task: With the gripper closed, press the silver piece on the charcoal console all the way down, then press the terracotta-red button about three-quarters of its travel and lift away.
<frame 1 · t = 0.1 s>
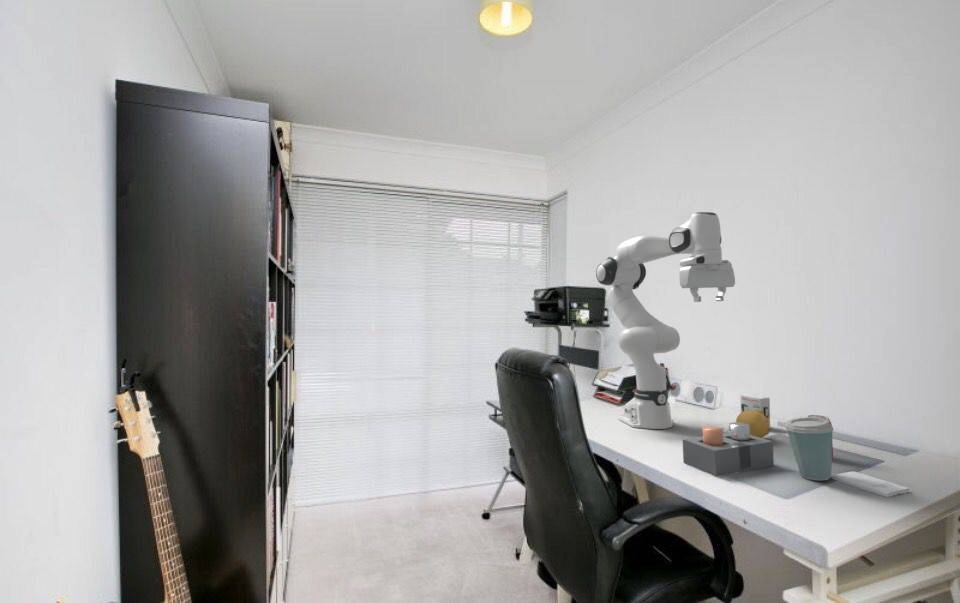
hand: (708, 301, 149), 48 cm above the table, tool pointing down, fingers open, 8 cm apart
external hard drive: (869, 488, 113), on the table
terracotta button: (713, 440, 130), point 7 cm above the table, slide at 0.0 cm
ink box: (755, 428, 168), on the table
silver piece: (739, 436, 133), point 7 cm above the table, slide at 0.0 cm
disposable coffee cup: (814, 476, 119), on the table
console: (727, 464, 131), on the table
beverage can: (820, 457, 134), on the table
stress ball: (753, 440, 154), on the table
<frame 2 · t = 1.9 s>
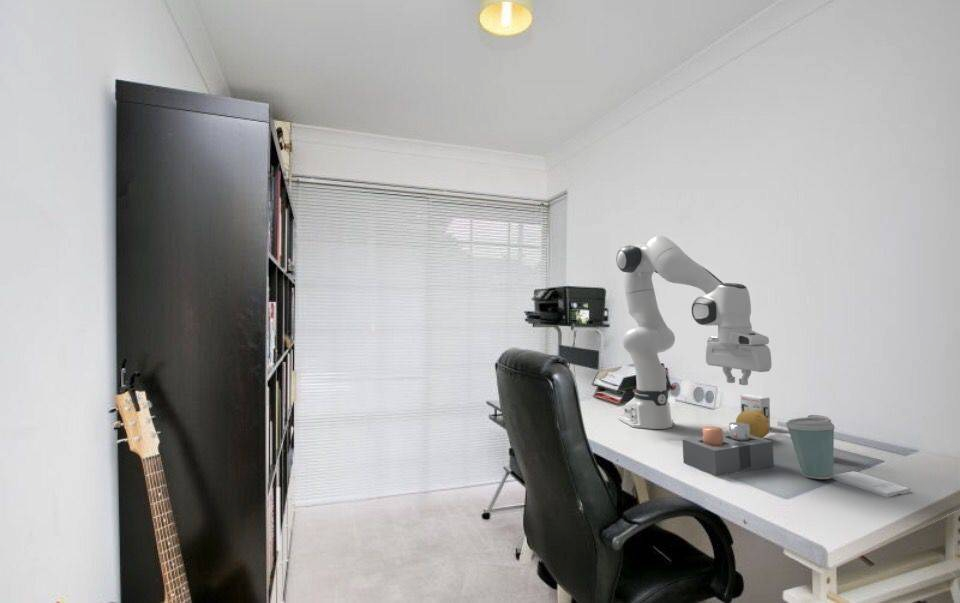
hand: (737, 383, 133), 23 cm above the table, tool pointing down, fingers open, 3 cm apart
disposable coffee cup: (816, 476, 119), on the table
everything else where it was.
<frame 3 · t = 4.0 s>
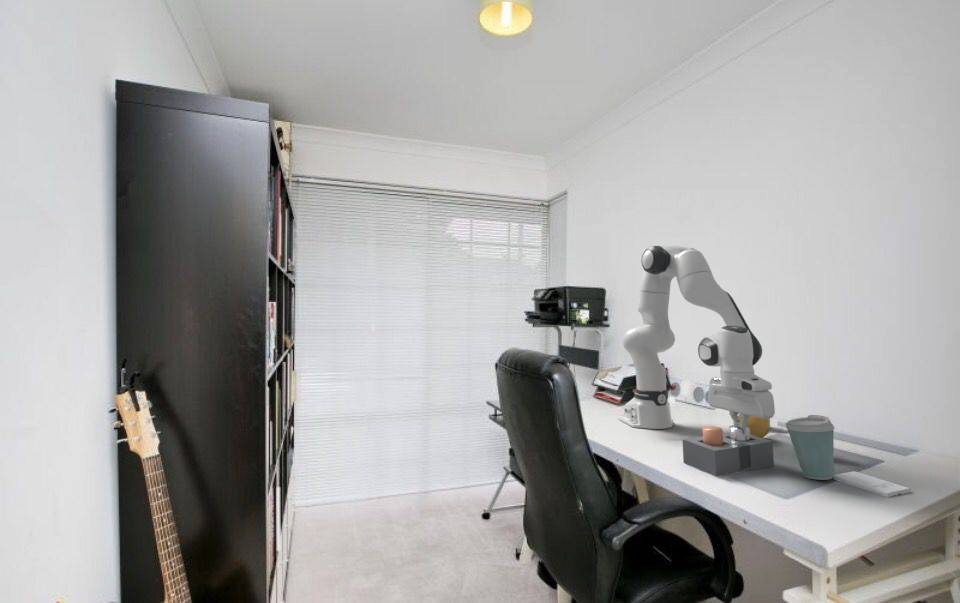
hand: (740, 427, 133), 10 cm above the table, tool pointing down, fingers closed
external hard drive: (870, 488, 113), on the table, touching disposable coffee cup
silver piece: (739, 439, 133), point 7 cm above the table, slide at 0.9 cm, touching gripper
disposable coffee cup: (817, 476, 119), on the table, touching external hard drive
everything else where it was.
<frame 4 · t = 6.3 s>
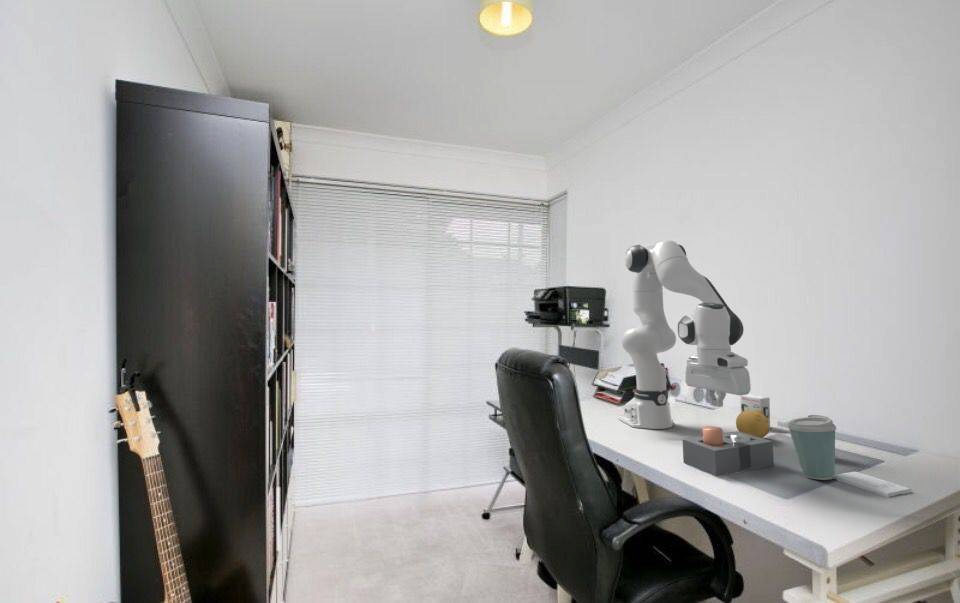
hand: (716, 406, 130), 17 cm above the table, tool pointing down, fingers closed
external hard drive: (871, 488, 113), on the table
silver piece: (740, 446, 133), point 4 cm above the table, slide at 3.1 cm
disposable coffee cup: (818, 476, 119), on the table
everything else where it was.
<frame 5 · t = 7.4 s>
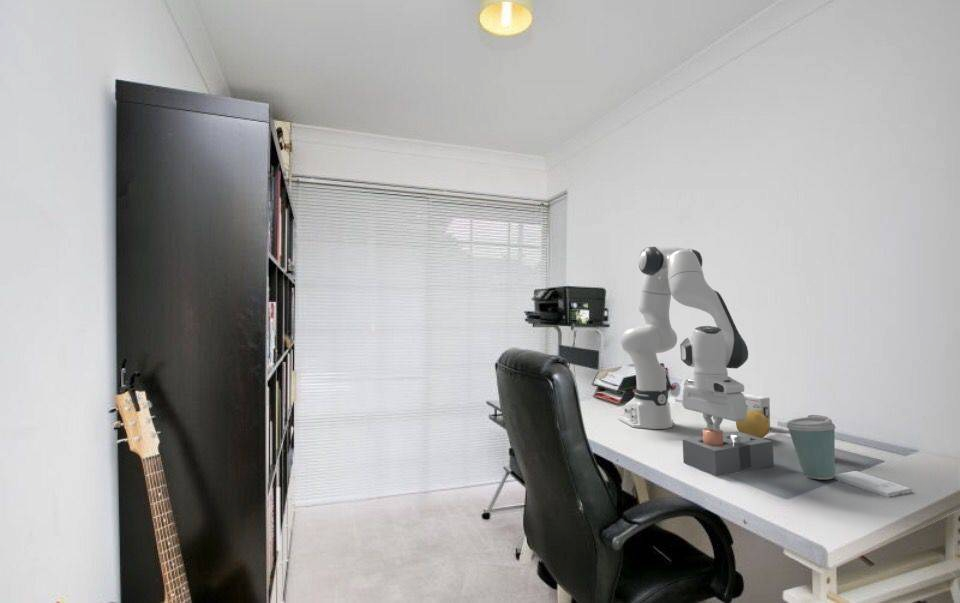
hand: (713, 430, 130), 10 cm above the table, tool pointing down, fingers closed, pressing on terracotta button
terracotta button: (713, 442, 130), point 7 cm above the table, slide at 0.6 cm, touching gripper
everything else where it was.
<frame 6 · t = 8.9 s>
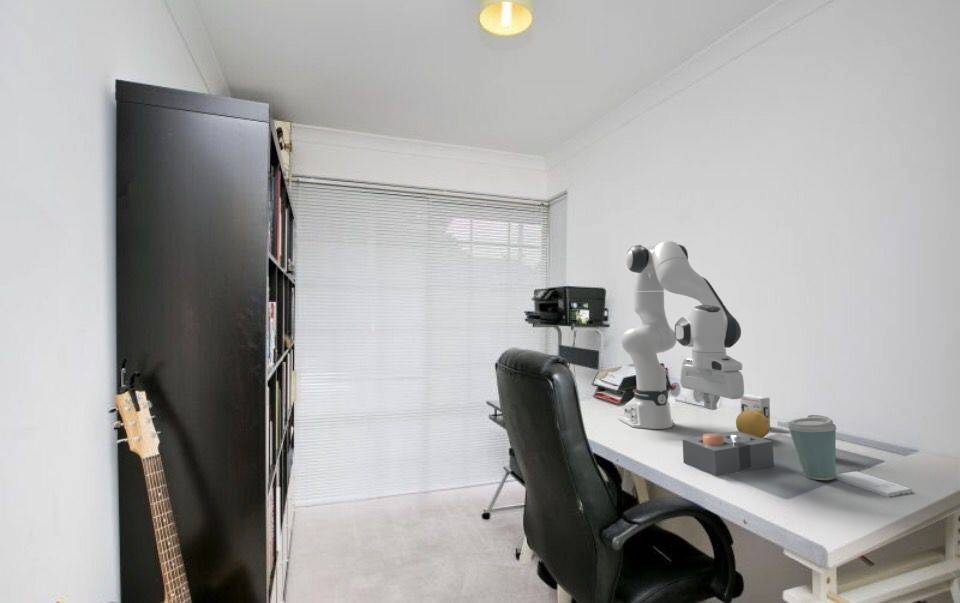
hand: (710, 408, 130), 17 cm above the table, tool pointing down, fingers closed
external hard drive: (872, 488, 113), on the table, touching disposable coffee cup
terracotta button: (713, 448, 130), point 5 cm above the table, slide at 2.2 cm
disposable coffee cup: (819, 477, 119), on the table, touching external hard drive
everything else where it was.
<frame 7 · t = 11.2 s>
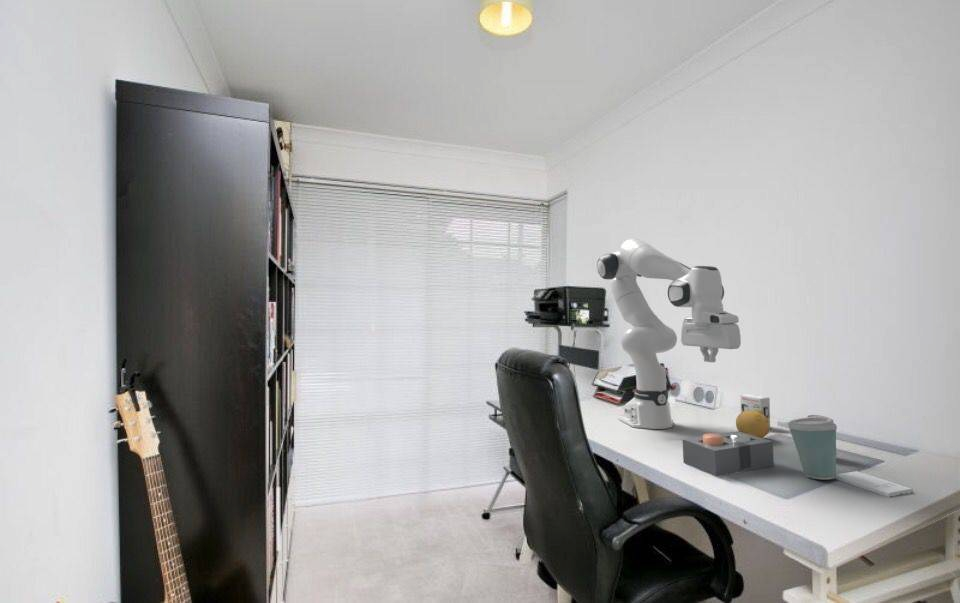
hand: (709, 361, 139), 29 cm above the table, tool pointing down, fingers closed
disposable coffee cup: (819, 477, 119), on the table, touching external hard drive
everything else where it was.
at the end: silver piece slide at 3.1 cm; terracotta button slide at 2.2 cm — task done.
